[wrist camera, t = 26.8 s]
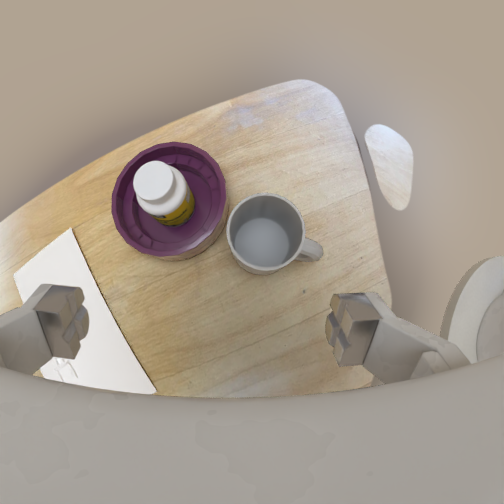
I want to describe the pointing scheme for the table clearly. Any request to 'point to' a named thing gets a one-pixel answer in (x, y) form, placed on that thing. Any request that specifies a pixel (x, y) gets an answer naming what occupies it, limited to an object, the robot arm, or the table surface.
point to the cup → (269, 234)
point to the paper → (100, 323)
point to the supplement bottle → (164, 193)
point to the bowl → (205, 194)
